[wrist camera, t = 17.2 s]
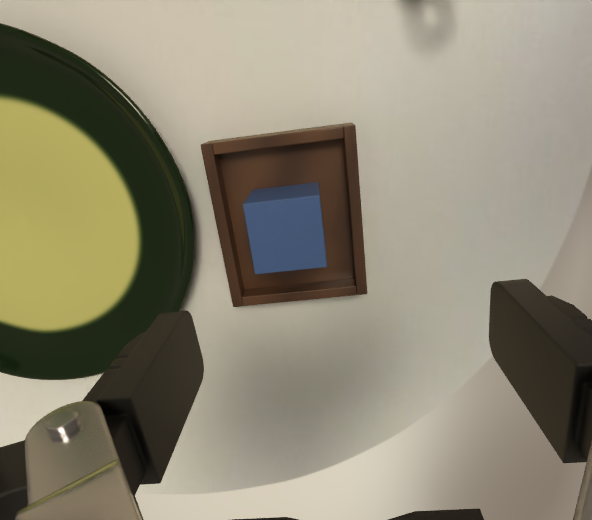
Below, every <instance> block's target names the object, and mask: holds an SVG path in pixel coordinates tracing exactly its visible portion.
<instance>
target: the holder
mask: <svg viewBox="0 0 592 520" xmlns="http://www.w3.org/2000/svg"><path fill="white" fill-rule="evenodd" d="M201 149H202V154H203V159H204V164H205V169H206V174H207V179H208V184H209V189H210V194H211V199H212V204H213V209H214V214H215V218H216V223H217V228H218V233H219V238H220V243H221V248H222V253H223V258H224V263H225V268H226V273H227V278H228V283H229V288H230V293H231V298H232V302H233V307H238V306H247V305H257V304H268V303H278V302H288V301H299V300H309V299H320V298H330V297H340V296H351V295H361V294H367V283H366V269H365V255H364V241H363V227H362V213H361V199H360V185H359V171H358V157H357V143H356V129H355V125H354V124H353V123H345V124H337V125H330V126H322V127H314V128H306V129H299V130H291V131H283V132H276V133H268V134H260V135H253V136H245V137H237V138H229V139H222V140H214V141H209V142H206V143H203V144H201ZM314 182H318V183H319V190H320V199H321V209H322V218H323V228H324V237H325V247H326V258H327V267H322V268H312V269H302V270H292V271H282V272H273V273H263V274H255V271H254V266H253V260H252V254H251V249H250V243H249V237H248V231H247V226H246V220H245V214H244V209H243V203H244V202H245V200H246V199H247V197H248V196H249V194H250V193H251V191H252V190H255V189H264V188H272V187H281V186H289V185H298V184H306V183H314Z"/></svg>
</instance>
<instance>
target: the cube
mask: <svg viewBox="0 0 592 520" xmlns="http://www.w3.org/2000/svg"><path fill="white" fill-rule="evenodd" d="M243 209H244V214H245V220H246V226H247V231H248V237H249V243H250V249H251V254H252V260H253V266H254V271H255V274H263V273H273V272H282V271H292V270H302V269H312V268H322V267H327V258H326V247H325V237H324V228H323V218H322V209H321V199H320V190H319V183H318V182H314V183H306V184H298V185H289V186H281V187H272V188H264V189H255V190H252V191H251V193H250V194H249V196H248V197H247V199H246V200H245V202H244V203H243Z"/></svg>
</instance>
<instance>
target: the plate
mask: <svg viewBox="0 0 592 520" xmlns="http://www.w3.org/2000/svg"><path fill="white" fill-rule="evenodd" d="M194 251H195V237H194V223H193V215H192V209H191V204H190V200H189V196H188V193H187V190H186V187H185V184H184V182H183V179H182V177H181V174H180V172H179V170H178V168H177V166H176V164H175V162H174V160H173V158H172V156H171V154H170V152H169V150H168V149H167V147H166V145H165V143H164V142H163V140H162V139H161V137H160V135H159V134H158V132H157V131H156V129H155V128H154V127H153V125H152V124H151V122H150V121H149V120H148V118H147V117H146V116H145V115H144V113H143V112H142V111H141V110H140V109H139V107H138V106H137V105H136V104H135V103H134V102H133V101H132V100H131V98H130V97H129V96H128V95H127V94H126V93H125V92H124V91H123V90H122V89H121V88H120V87H118V86H117V85H116V84H115V83H114V82H113V81H112V80H111V79H110V78H108V77H107V76H106V75H105V74H104V73H102V72H101V71H100V70H98V69H97V68H96V67H94V66H93V65H91V64H90V63H88V62H87V61H86V60H84V59H82V58H81V57H79V56H77V55H76V54H74V53H72V52H70V51H68V50H66V49H64V48H62V47H60V46H58V45H56V44H54V43H52V42H50V41H48V40H45V39H43V38H41V37H38V36H36V35H34V34H31V33H29V32H26V31H23V30H20V29H18V28H15V27H11V26H8V25H4V24H1V23H0V372H2V373H5V374H9V375H13V376H18V377H23V378H30V379H41V380H67V379H77V378H84V377H89V376H94V375H98V374H101V373H104V372H105V371H106V370H107V369H109V366H110V365H111V363H112V362H113V361H114V359H117V356H118V354H119V353H120V352H121V350H122V349H123V348H124V347H125V345H126V344H127V343H128V342H130V341H131V340H133V339H134V338H135V337H137V336H138V335H139V334H141V333H143V332H146V331H147V330H148V328H149V327H150V326H151V324H152V323H153V321H154V320H155V319H156V317H157V316H158V315H159V314H160V313H169V312H179V310H180V309H181V306H182V304H183V302H184V300H185V297H186V295H187V291H188V288H189V285H190V281H191V276H192V271H193V264H194Z"/></svg>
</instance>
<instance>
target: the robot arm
mask: <svg viewBox="0 0 592 520" xmlns="http://www.w3.org/2000/svg"><path fill="white" fill-rule="evenodd" d="M489 342H490V348H491V351H492V354H493V357H494V359H495V360H496V362H497V363H498V365H499V366H500V368H501V370H502V371H503V373H504V374H505V376H506V377H507V378H508V380H509V382H510V383H511V385H512V386H513V387H514V389H515V391H516V392H517V394H518V395H519V397H520V398H521V400H522V401H523V403H524V404H525V405H526V407H527V409H528V410H529V412H530V413H531V415H532V416H533V418H534V419H535V421H536V422H537V424H538V425H539V426H540V428H541V430H542V431H543V433H544V434H545V436H546V437H547V439H548V440H549V442H550V443H551V445H552V446H553V448H554V449H555V451H556V452H557V454H558V456H559V457H560V458H561V460H562V461H563V463H574V462H575V463H577V462H587V463H586V467H585V471H584V476H583V480H582V484H581V488H580V493H579V497H578V501H577V505H576V509H575V514H574V518H573V520H592V320H591V319H587V316H586V315H585V314H583V313H582V312H581V311H580V310H579V309H577V308H576V307H575V306H574V305H572V304H570V303H567V302H565V301H563V300H561V299H558V298H556V297H554V296H546V295H545V294H543V293H542V292H541V291H540V290H539V289H538V288H537V287H536V286H534V285H533V284H532V283H531V282H530V281H529V280H527V279H519V280H509V281H498V282H494V283H493V284H492V287H491V296H490V320H489ZM203 373H204V365H203V358H202V354H201V350H200V346H199V342H198V338H197V334H196V330H195V327H194V323H193V319H192V316H191V314H190V313H189V312H188V311H179V312H169V313H160V314H159V315H158V316H157V317H156V319H155V320H154V321H153V323H152V324H151V326H150V327H149V328H148V330H147V331H146V332H143V333H141V334H139V335H138V336H137V337H135V338H134V339H133V340H131V341H130V342H128V343H127V344H126V345H125V347H124V348H123V349H122V350H121V352H120V353H119V354H118V356H117V359H114V361H113V362H112V363H111V365H110V366H109V369H107V370H106V371H105V372H104V374H103V375H102V376H101V377H100V379H99V380H98V381H97V383H96V384H95V385H94V387H93V388H92V389H91V390H90V392H89V393H88V394H87V396H86V397H85V398H84V399H83V401H81V402H75V403H71V404H68V405H65V406H63V407H60V408H58V409H56V410H54V411H52V412H51V413H49V414H47V415H46V416H45V417H43V418H42V419H41V420H39V421H38V422H37V423H36V424H35V425H34V426H33V427H32V428H31V429H30V431H29V432H28V434H27V436H26V438H25V440H24V441H21V442H17V443H14V444H11V445H7V446H4V447H0V520H143V517H142V514H141V511H140V509H139V506H138V503H137V501H136V498H135V494H136V492H137V489H138V487H139V485H140V484H157V483H161V480H162V478H163V475H164V473H165V470H166V468H167V466H168V463H169V461H170V458H171V456H172V453H173V451H174V449H175V446H176V444H177V441H178V439H179V436H180V434H181V431H182V429H183V427H184V424H185V422H186V419H187V417H188V414H189V412H190V409H191V407H192V405H193V402H194V400H195V397H196V395H197V392H198V390H199V388H200V385H201V383H202V379H203ZM235 520H297V519H293V518H288V517H280V518H259V519H258V518H257V519H235ZM389 520H484V519H483V516H482V514H481V511H480V509H463V510H462V509H460V510H439V511H415V512H412V513H408V514H405V515H402V516H399V517H395V518H392V519H389Z"/></svg>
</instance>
